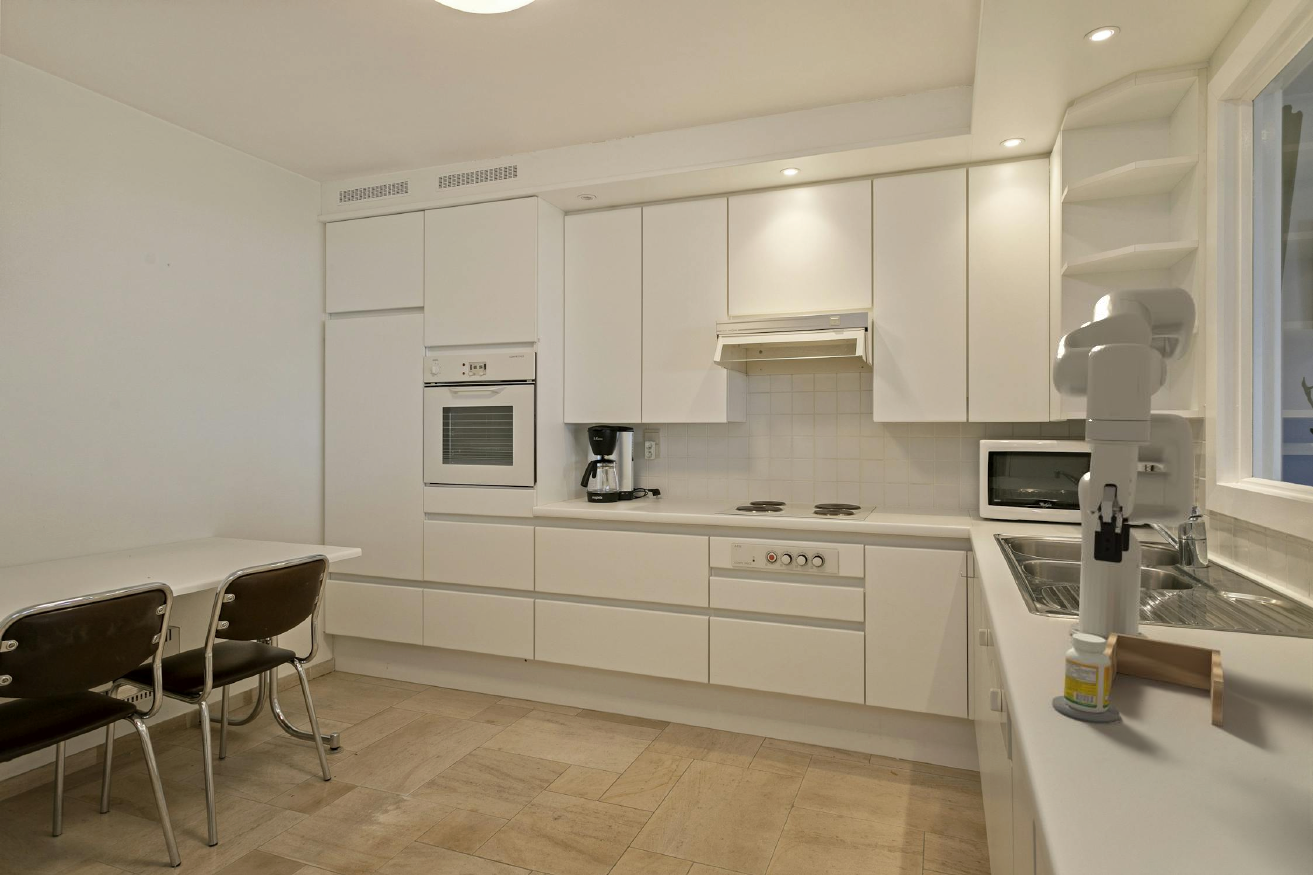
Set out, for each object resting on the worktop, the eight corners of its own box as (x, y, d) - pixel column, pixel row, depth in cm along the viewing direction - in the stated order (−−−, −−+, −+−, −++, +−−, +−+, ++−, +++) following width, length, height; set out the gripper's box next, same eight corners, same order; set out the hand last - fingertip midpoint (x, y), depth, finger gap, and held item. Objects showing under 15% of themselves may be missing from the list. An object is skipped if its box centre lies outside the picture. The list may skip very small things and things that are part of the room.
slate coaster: (1056, 695, 105) (1057, 691, 105) (1121, 709, 100) (1122, 705, 100) (1047, 712, 99) (1048, 707, 99) (1116, 728, 94) (1116, 723, 94)
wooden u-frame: (1109, 668, 117) (1111, 632, 117) (1218, 689, 109) (1220, 650, 109) (1098, 699, 104) (1099, 658, 104) (1221, 726, 95) (1223, 681, 95)
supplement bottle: (1080, 714, 97) (1083, 643, 97) (1055, 698, 102) (1057, 631, 102) (1118, 713, 97) (1121, 643, 97) (1090, 698, 103) (1093, 631, 102)
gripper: (1093, 431, 109) (1089, 543, 110) (1076, 434, 95) (1071, 562, 96) (1153, 432, 104) (1148, 549, 105) (1144, 436, 91) (1138, 570, 92)
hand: (1111, 555), depth 101 cm, fingers open, 9 cm apart
